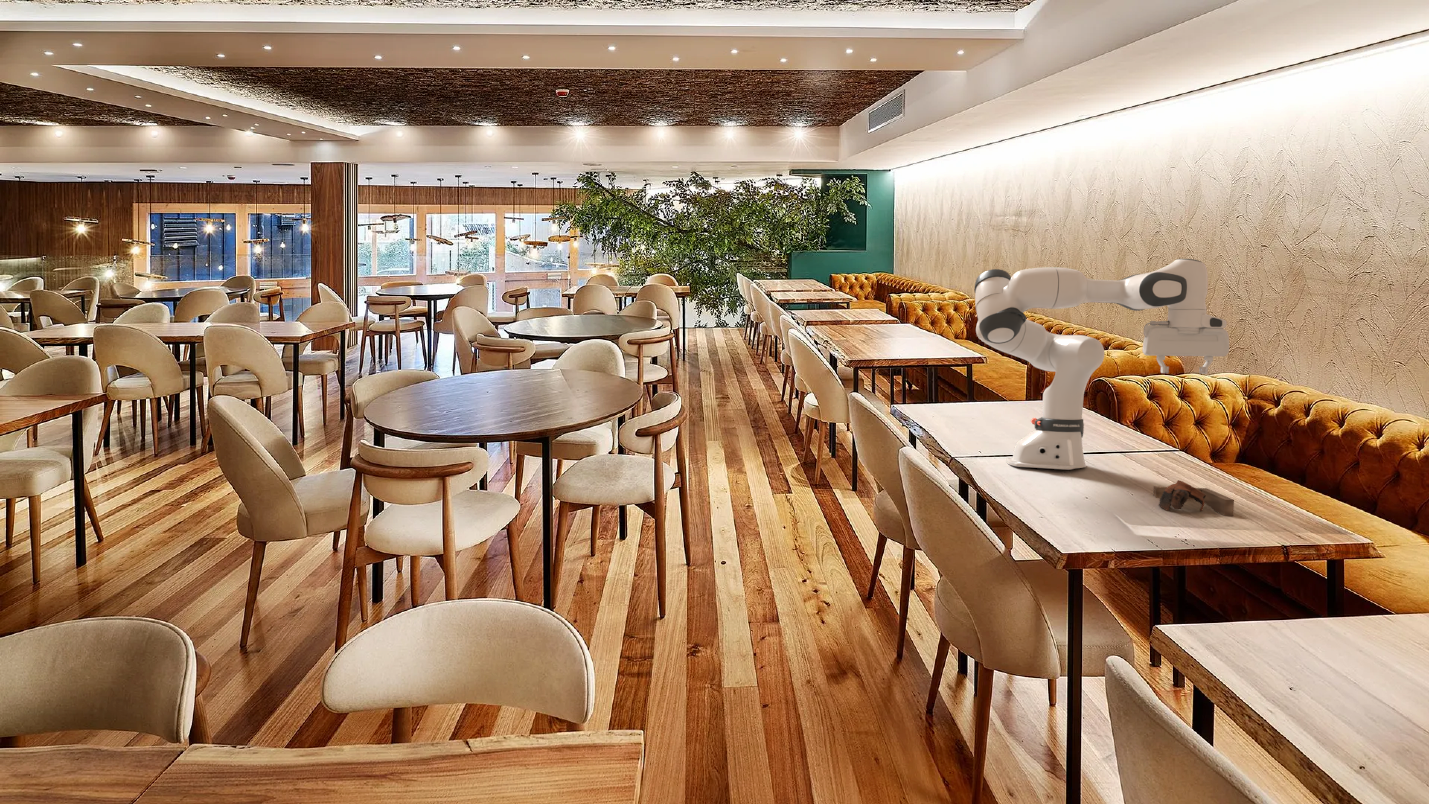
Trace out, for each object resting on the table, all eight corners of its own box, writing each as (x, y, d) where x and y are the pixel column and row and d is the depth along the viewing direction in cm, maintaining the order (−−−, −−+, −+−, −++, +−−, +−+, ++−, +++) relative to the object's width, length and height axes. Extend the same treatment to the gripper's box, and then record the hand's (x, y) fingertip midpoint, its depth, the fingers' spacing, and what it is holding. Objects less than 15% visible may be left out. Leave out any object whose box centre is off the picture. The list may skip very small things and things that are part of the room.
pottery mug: (1156, 504, 212) (1174, 478, 210) (1192, 525, 207) (1211, 498, 206) (1153, 502, 201) (1172, 474, 200) (1191, 524, 197) (1211, 495, 195)
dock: (1175, 513, 201) (1176, 497, 200) (1152, 501, 216) (1153, 486, 216) (1233, 516, 198) (1234, 499, 198) (1206, 503, 214) (1206, 488, 214)
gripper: (1148, 320, 213) (1145, 373, 214) (1233, 321, 209) (1230, 374, 210) (1140, 321, 219) (1137, 372, 220) (1223, 321, 216) (1220, 373, 217)
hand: (1183, 373), depth 215 cm, fingers open, 8 cm apart
